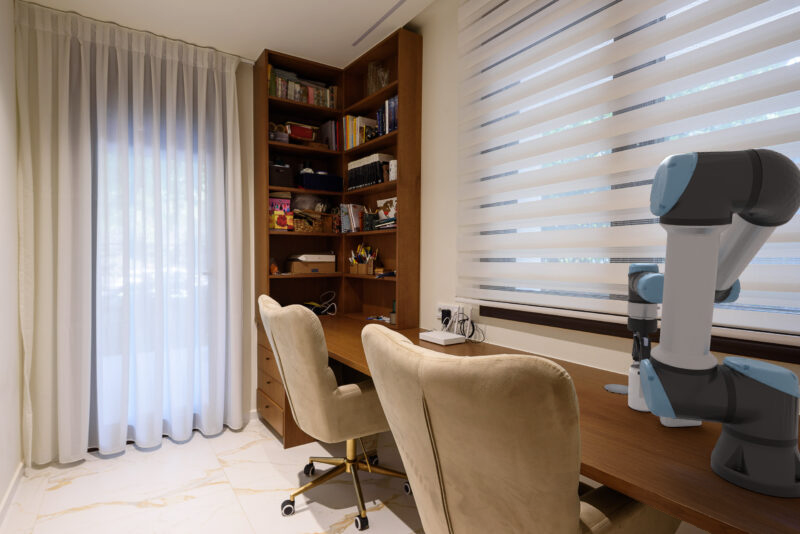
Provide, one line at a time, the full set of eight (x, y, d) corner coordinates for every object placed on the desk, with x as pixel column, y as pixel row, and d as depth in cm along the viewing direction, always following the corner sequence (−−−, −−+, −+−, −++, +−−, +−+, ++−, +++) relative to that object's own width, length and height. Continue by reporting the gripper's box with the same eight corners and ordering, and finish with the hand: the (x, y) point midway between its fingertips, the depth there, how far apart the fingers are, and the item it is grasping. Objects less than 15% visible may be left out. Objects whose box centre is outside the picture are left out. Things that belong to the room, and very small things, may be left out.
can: (630, 410, 122) (631, 368, 121) (626, 402, 128) (626, 363, 127) (656, 413, 120) (657, 370, 119) (650, 405, 126) (651, 364, 125)
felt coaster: (637, 395, 134) (637, 394, 134) (605, 392, 138) (605, 390, 138) (633, 387, 143) (633, 385, 143) (603, 384, 146) (603, 382, 146)
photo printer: (691, 419, 115) (692, 374, 115) (705, 426, 111) (706, 379, 111) (656, 422, 114) (657, 376, 113) (669, 428, 110) (670, 381, 109)
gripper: (666, 325, 110) (664, 406, 111) (649, 311, 133) (648, 378, 134) (633, 324, 113) (632, 403, 114) (622, 310, 136) (621, 375, 137)
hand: (640, 390), depth 124 cm, fingers open, 13 cm apart
